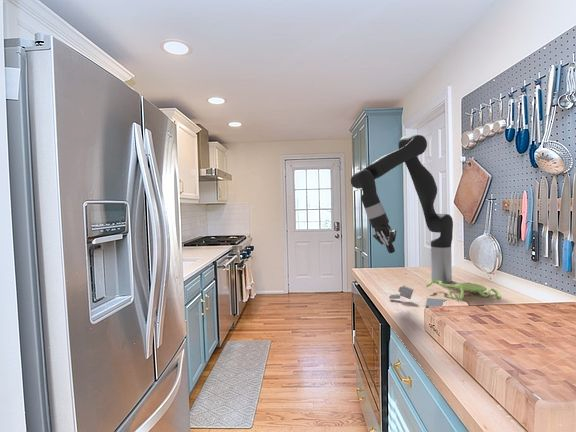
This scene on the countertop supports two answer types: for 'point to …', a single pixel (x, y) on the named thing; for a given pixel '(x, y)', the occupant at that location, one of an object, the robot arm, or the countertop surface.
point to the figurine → (466, 289)
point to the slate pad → (434, 302)
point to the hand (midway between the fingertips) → (392, 252)
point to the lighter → (403, 293)
